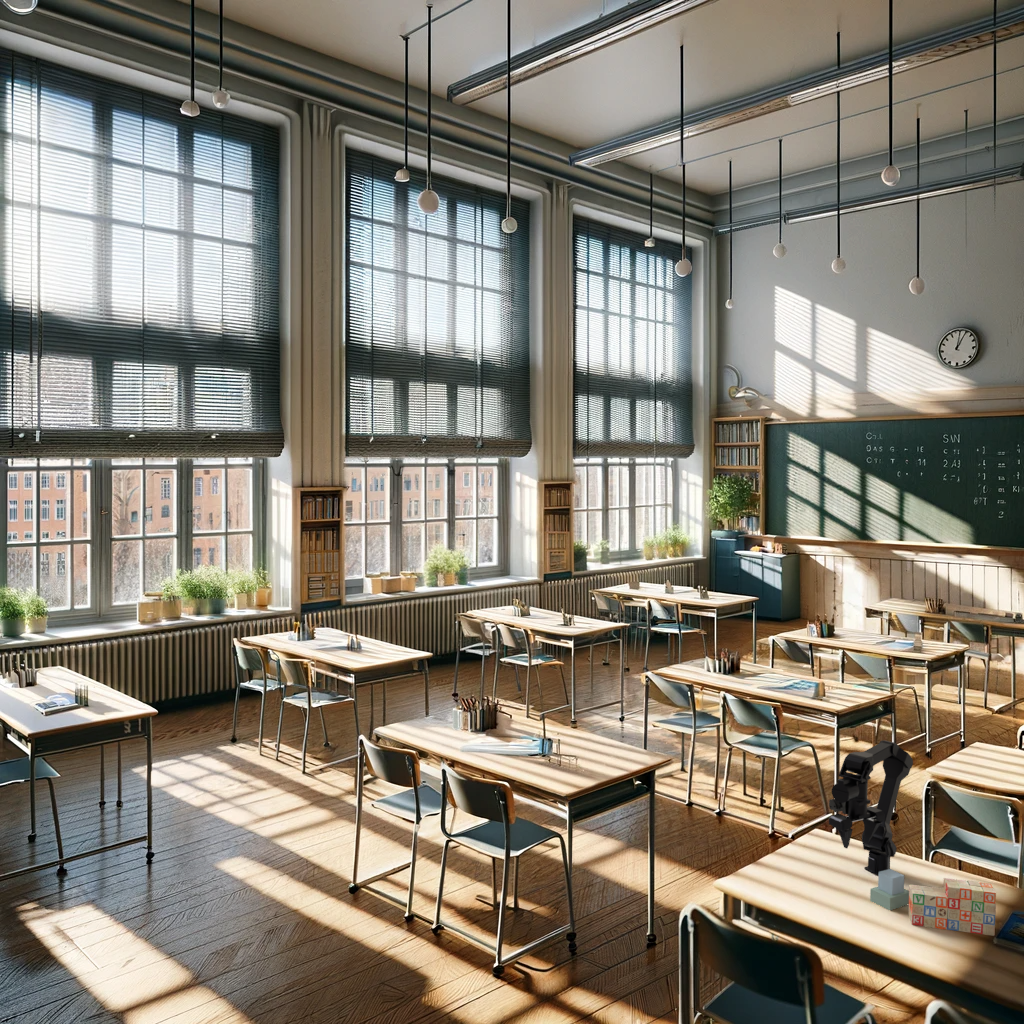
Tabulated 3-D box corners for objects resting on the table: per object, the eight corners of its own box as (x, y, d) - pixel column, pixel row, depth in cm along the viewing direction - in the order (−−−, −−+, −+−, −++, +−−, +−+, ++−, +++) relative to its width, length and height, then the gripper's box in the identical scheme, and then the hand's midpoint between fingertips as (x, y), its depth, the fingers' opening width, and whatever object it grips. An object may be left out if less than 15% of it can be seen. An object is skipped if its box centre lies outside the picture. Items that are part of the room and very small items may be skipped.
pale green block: (890, 895, 280) (891, 882, 280) (910, 905, 274) (911, 891, 274) (870, 901, 276) (870, 888, 276) (889, 911, 270) (890, 898, 269)
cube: (889, 885, 278) (890, 868, 278) (903, 892, 274) (904, 875, 273) (878, 888, 276) (878, 871, 275) (892, 895, 271) (892, 878, 271)
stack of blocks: (911, 925, 261) (912, 882, 260) (908, 915, 267) (909, 873, 266) (995, 936, 255) (996, 892, 255) (990, 925, 261) (991, 882, 261)
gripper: (858, 783, 298) (856, 831, 299) (815, 792, 289) (814, 841, 290) (886, 793, 288) (885, 843, 289) (843, 803, 279) (842, 854, 280)
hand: (856, 845), depth 287 cm, fingers open, 9 cm apart
